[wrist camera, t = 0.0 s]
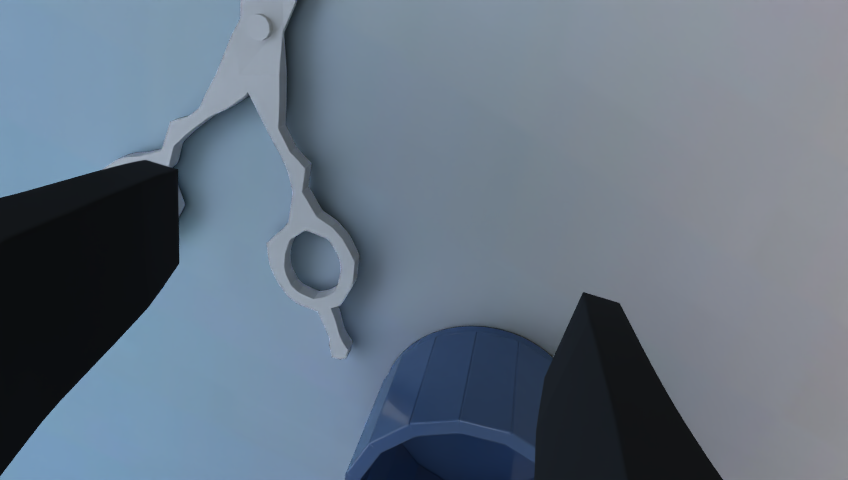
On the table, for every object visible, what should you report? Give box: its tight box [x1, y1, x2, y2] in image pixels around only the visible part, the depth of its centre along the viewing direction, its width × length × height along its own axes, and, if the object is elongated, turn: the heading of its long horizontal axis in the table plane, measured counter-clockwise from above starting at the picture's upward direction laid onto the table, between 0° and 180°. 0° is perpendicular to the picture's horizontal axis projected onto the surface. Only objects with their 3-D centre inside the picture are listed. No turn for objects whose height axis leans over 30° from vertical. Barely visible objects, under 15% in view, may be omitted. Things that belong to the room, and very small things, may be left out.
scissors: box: [102, 0, 359, 360], centre depth 20 cm, size 11×1×20 cm
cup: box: [345, 326, 553, 480], centre depth 22 cm, size 8×8×6 cm
